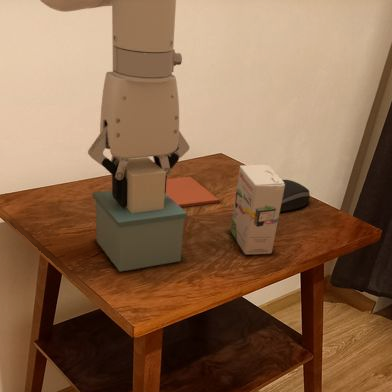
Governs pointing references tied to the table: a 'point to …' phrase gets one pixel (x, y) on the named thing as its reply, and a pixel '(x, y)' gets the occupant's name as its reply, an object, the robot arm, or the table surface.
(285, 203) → the computer mouse
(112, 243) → the storage box
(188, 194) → the mat
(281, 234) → the table surface
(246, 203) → the ink box
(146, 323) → the table surface
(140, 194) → the small box
